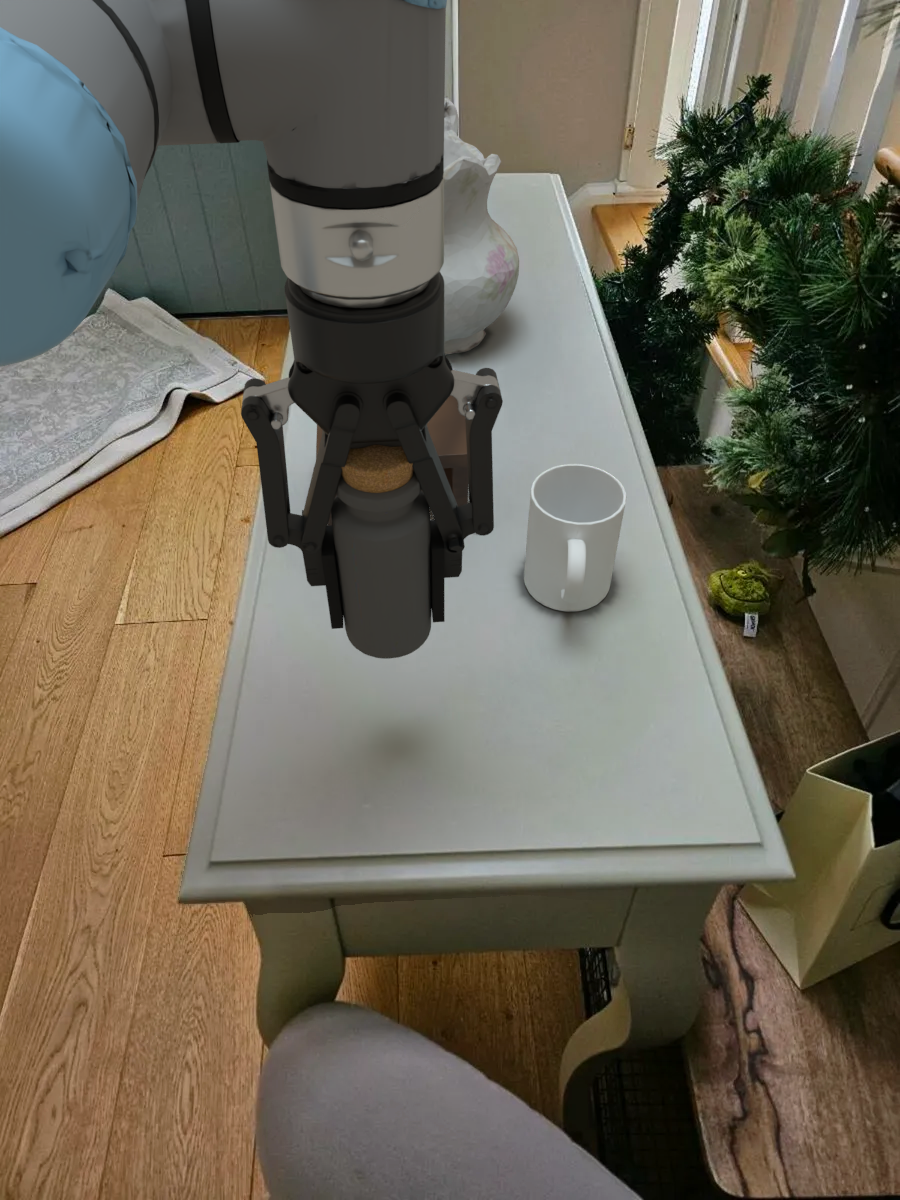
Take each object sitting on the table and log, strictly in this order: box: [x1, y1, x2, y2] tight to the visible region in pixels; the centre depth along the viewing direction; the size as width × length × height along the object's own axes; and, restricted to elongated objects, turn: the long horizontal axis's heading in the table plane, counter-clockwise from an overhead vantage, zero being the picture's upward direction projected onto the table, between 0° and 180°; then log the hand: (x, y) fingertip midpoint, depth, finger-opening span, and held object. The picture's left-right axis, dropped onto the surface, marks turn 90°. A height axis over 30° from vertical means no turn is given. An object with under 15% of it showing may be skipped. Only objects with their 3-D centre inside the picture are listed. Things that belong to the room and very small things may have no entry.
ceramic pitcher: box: [439, 95, 520, 355], centre depth 101 cm, size 22×20×25 cm
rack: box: [315, 396, 469, 526], centre depth 84 cm, size 14×11×9 cm
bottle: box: [331, 445, 432, 660], centre depth 52 cm, size 6×6×15 cm
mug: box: [523, 463, 627, 612], centre depth 73 cm, size 12×8×10 cm, turn 174°
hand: (387, 609), depth 57 cm, fingers closed on bottle, 6 cm apart
